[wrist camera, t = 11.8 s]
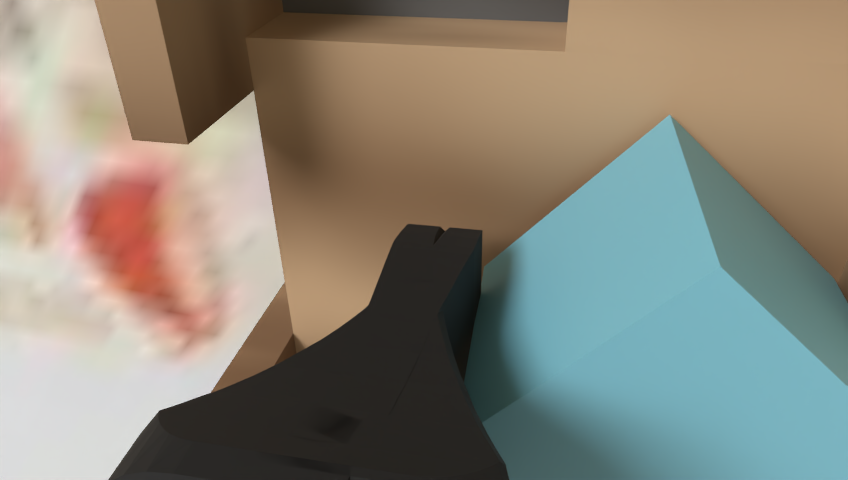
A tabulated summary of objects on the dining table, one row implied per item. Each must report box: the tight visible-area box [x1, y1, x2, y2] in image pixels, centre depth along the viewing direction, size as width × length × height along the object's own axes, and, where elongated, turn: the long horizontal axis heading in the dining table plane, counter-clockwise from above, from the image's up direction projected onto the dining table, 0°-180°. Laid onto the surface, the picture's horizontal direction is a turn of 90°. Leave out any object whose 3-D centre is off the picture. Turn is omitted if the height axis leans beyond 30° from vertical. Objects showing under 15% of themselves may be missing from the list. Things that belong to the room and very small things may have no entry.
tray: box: [95, 0, 848, 393], centre depth 14 cm, size 33×13×4 cm, turn 1°
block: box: [464, 115, 848, 480], centre depth 11 cm, size 4×4×4 cm
